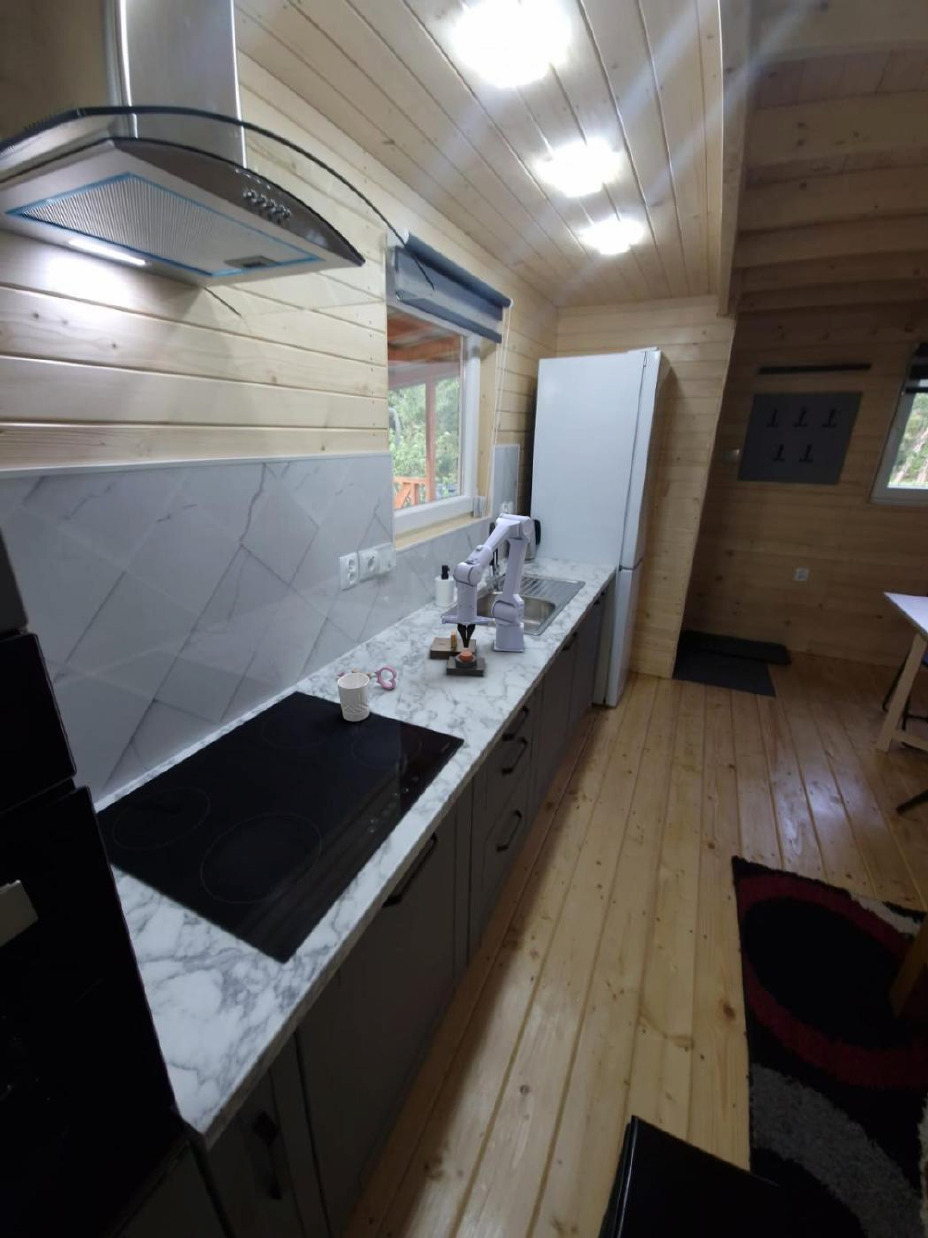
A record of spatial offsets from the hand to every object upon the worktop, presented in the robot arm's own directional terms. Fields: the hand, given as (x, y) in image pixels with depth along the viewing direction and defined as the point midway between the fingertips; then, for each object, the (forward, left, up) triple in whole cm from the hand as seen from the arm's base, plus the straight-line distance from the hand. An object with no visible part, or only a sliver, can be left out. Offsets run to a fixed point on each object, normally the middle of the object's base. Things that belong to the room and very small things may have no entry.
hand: (466, 646), depth 148 cm
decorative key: (+28, +12, -8) cm, 32 cm away
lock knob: (+5, -11, -5) cm, 13 cm away
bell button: (0, 0, -4) cm, 4 cm away
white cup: (+26, +28, -8) cm, 39 cm away
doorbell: (0, 0, -8) cm, 8 cm away
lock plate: (+5, -11, -8) cm, 14 cm away
